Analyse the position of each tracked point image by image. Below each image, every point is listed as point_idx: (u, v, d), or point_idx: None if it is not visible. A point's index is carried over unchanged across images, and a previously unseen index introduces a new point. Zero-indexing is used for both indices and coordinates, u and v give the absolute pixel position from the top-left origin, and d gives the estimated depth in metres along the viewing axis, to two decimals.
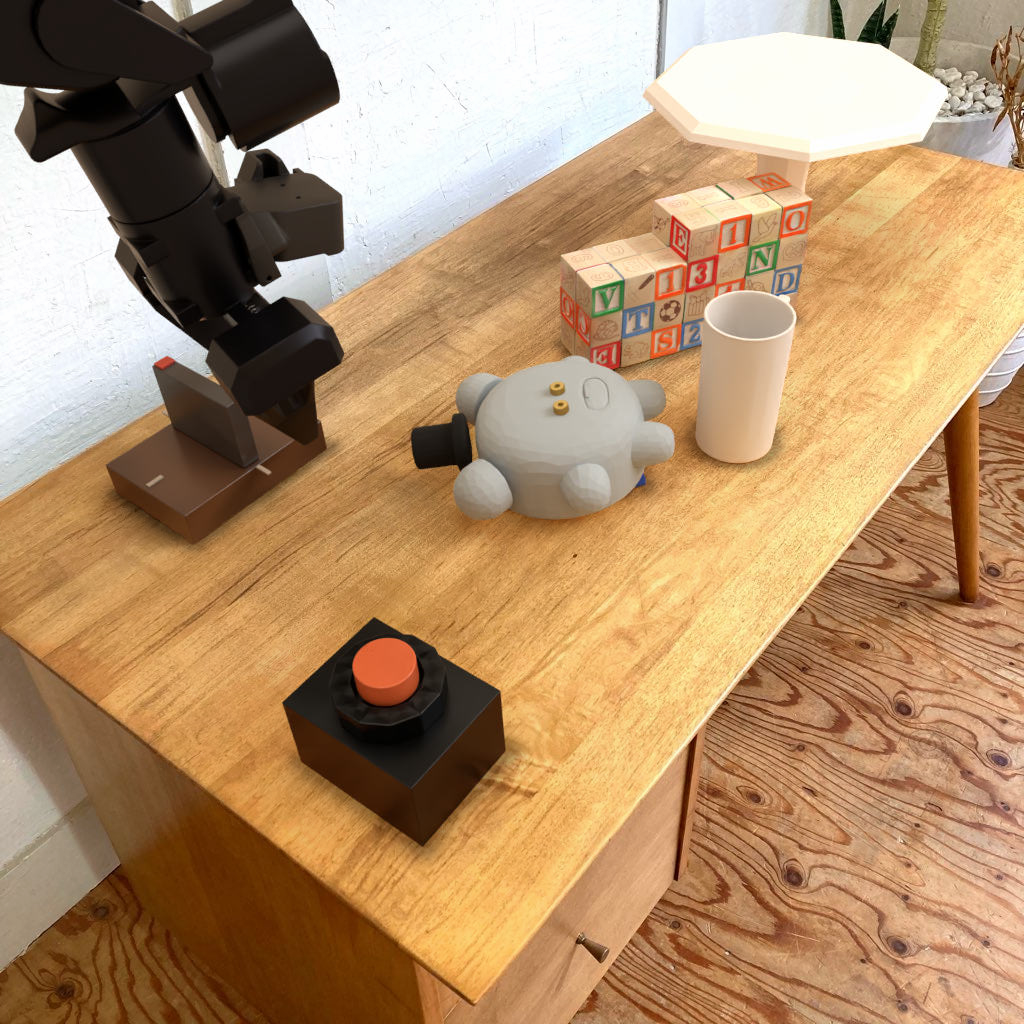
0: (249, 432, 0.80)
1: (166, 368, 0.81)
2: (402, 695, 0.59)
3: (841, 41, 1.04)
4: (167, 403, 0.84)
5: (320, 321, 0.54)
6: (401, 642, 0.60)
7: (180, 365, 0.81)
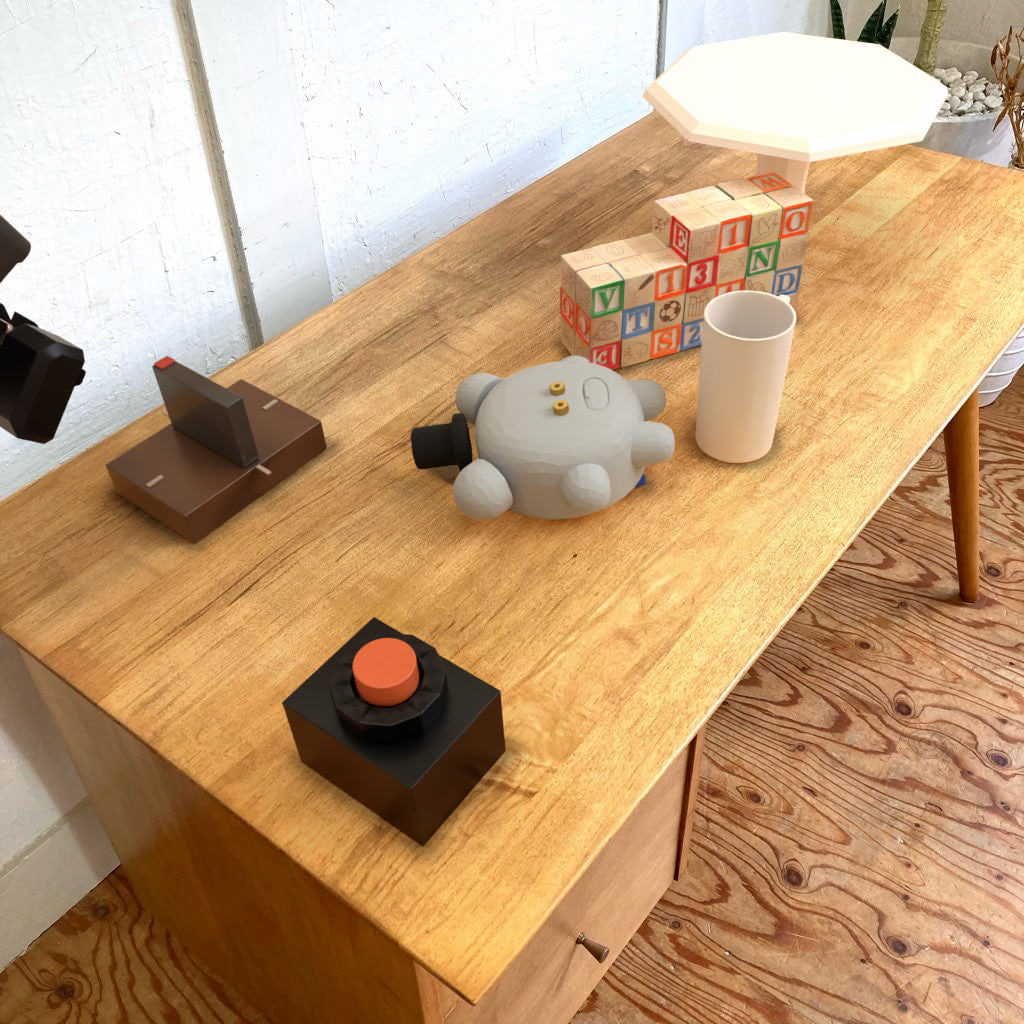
0: (249, 432, 0.80)
1: (166, 368, 0.81)
2: (402, 695, 0.59)
3: (841, 41, 1.04)
4: (167, 403, 0.84)
5: (44, 342, 0.61)
6: (401, 642, 0.60)
7: (180, 365, 0.81)
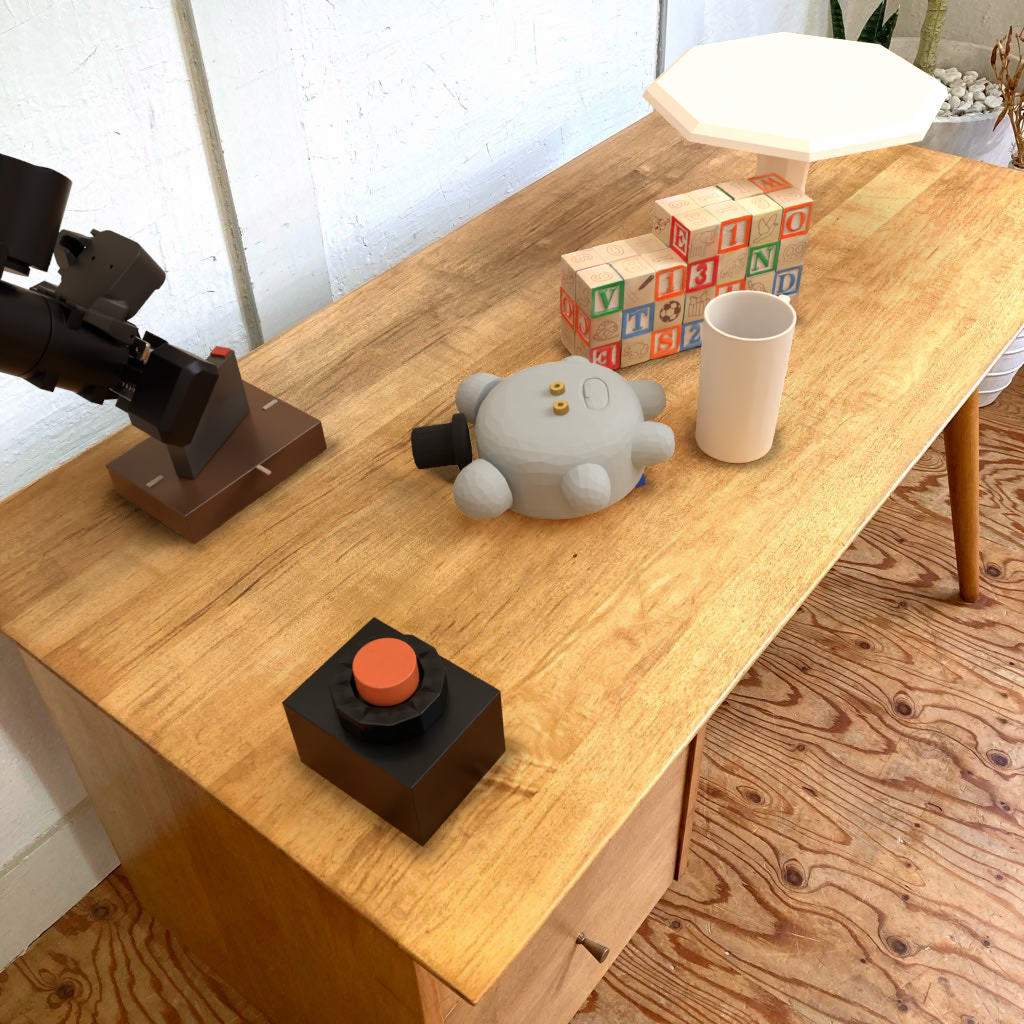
0: (182, 451, 0.79)
1: (213, 356, 0.82)
2: (402, 695, 0.59)
3: (841, 41, 1.04)
4: None
5: (187, 359, 0.70)
6: (401, 642, 0.60)
7: (219, 362, 0.82)
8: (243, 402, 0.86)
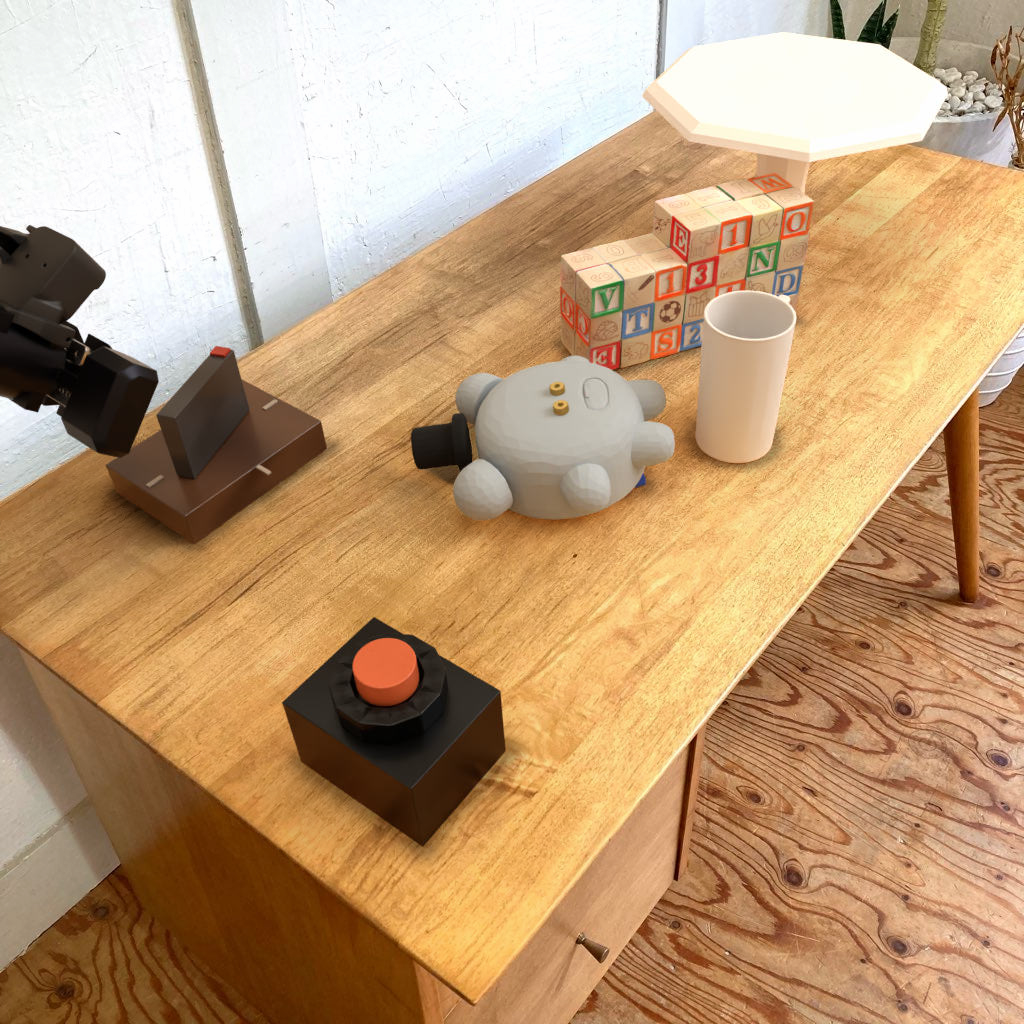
0: (182, 451, 0.79)
1: (212, 356, 0.82)
2: (402, 695, 0.59)
3: (841, 41, 1.04)
4: None
5: (123, 364, 0.66)
6: (401, 642, 0.60)
7: (219, 362, 0.82)
8: (242, 401, 0.86)
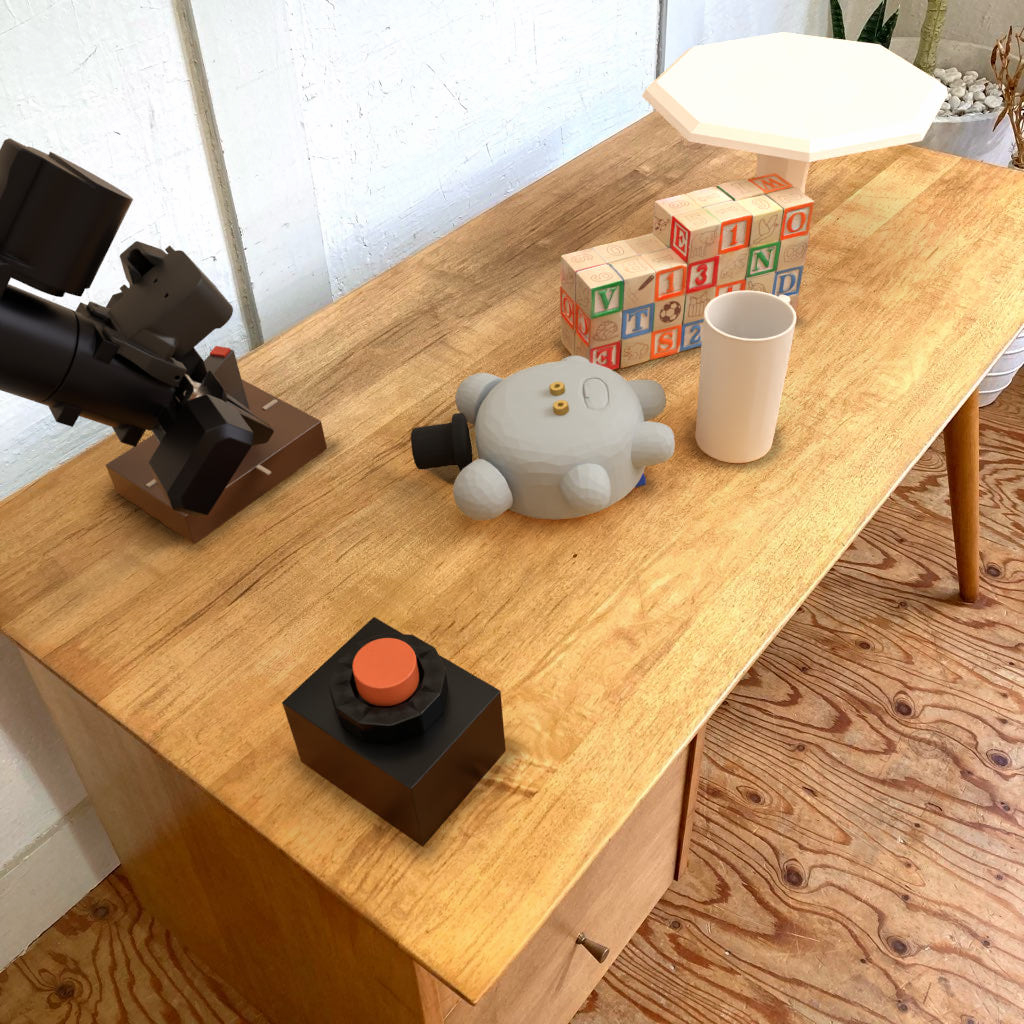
0: None
1: (212, 356, 0.82)
2: (402, 695, 0.59)
3: (841, 41, 1.04)
4: None
5: (215, 421, 0.59)
6: (401, 642, 0.60)
7: (219, 362, 0.82)
8: (242, 401, 0.86)
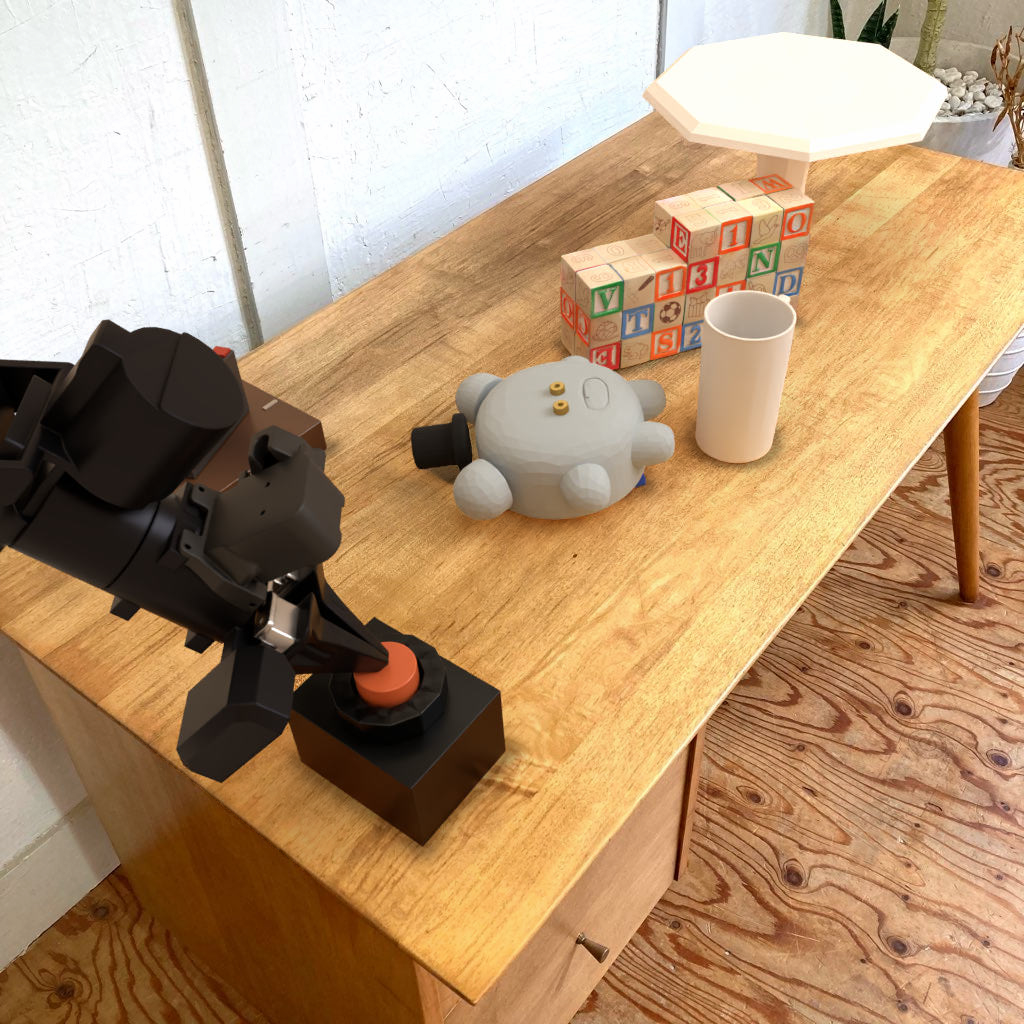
0: None
1: None
2: (403, 699, 0.59)
3: (841, 41, 1.04)
4: None
5: (246, 694, 0.47)
6: (402, 646, 0.60)
7: None
8: None
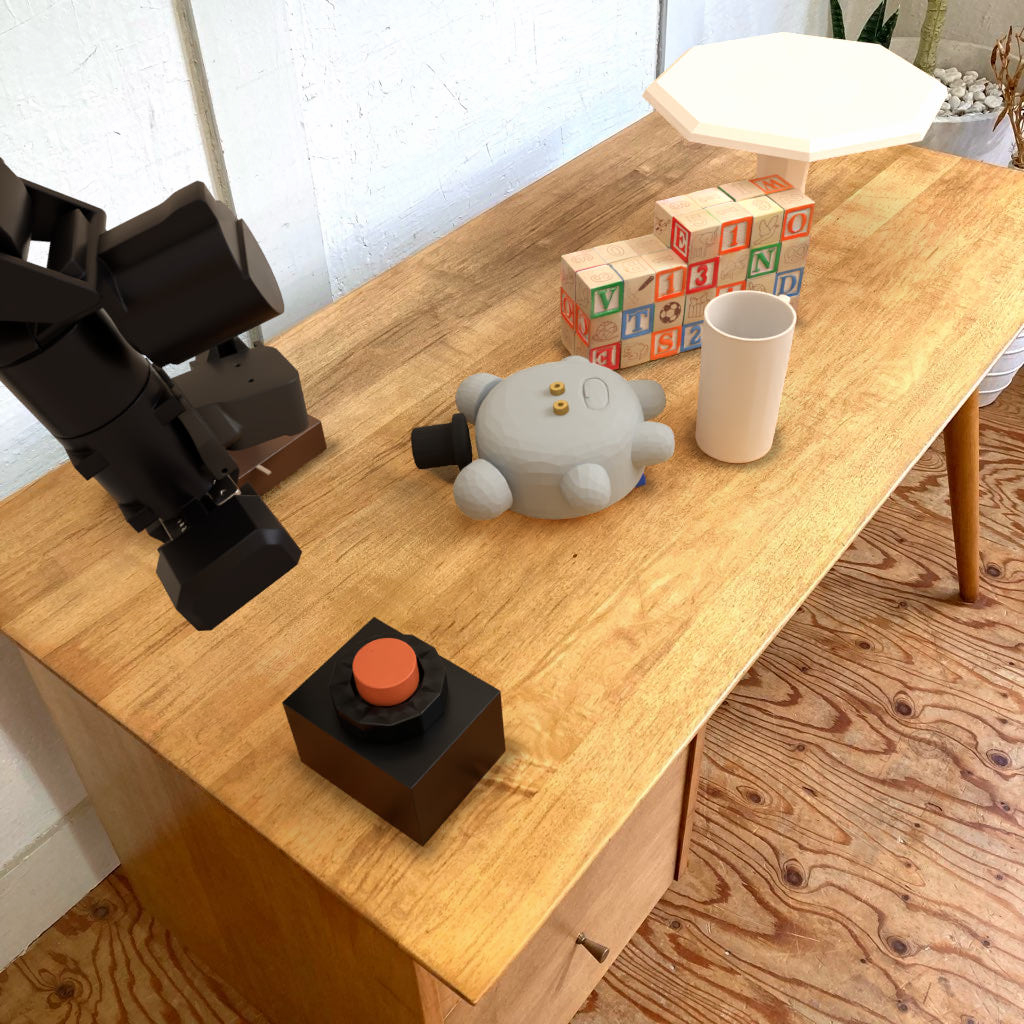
0: None
1: None
2: (402, 695, 0.59)
3: (841, 41, 1.04)
4: None
5: (270, 523, 0.50)
6: (401, 642, 0.60)
7: None
8: None
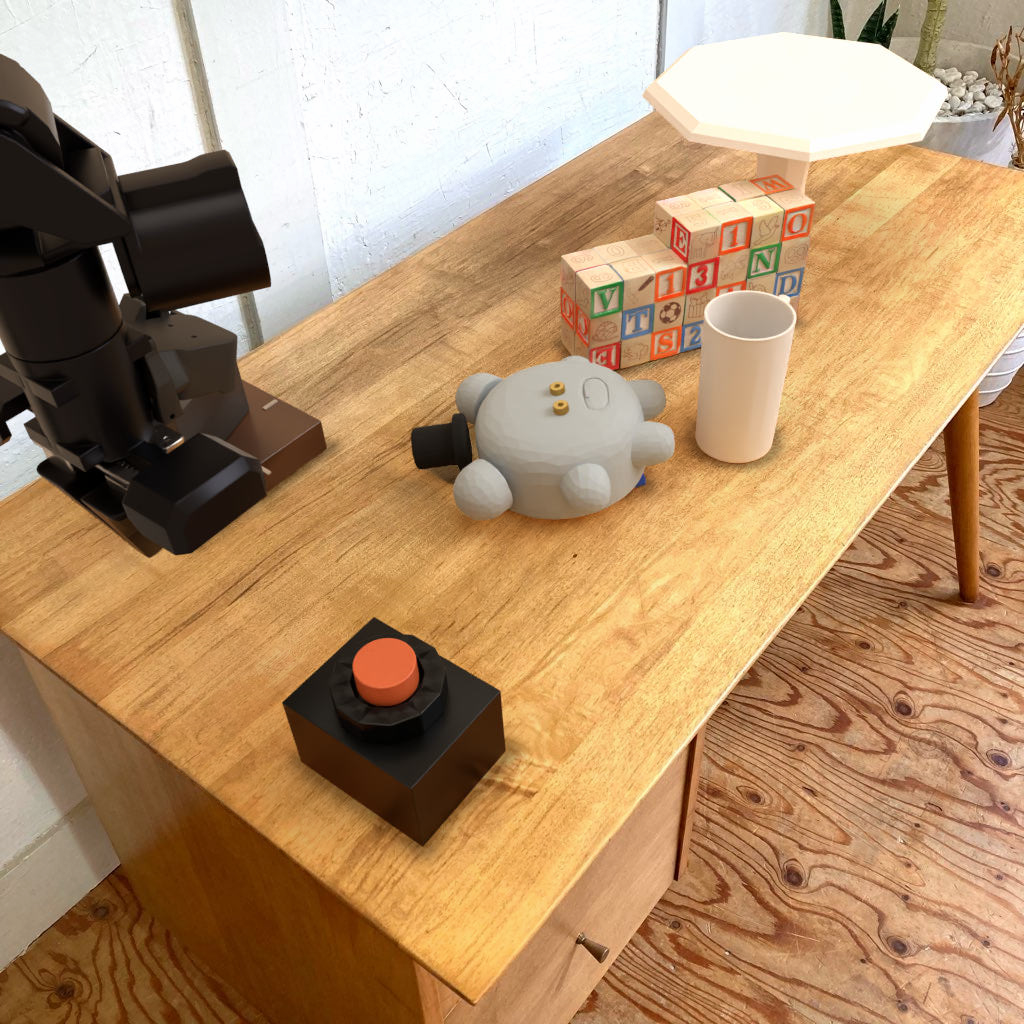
0: None
1: None
2: (402, 695, 0.59)
3: (841, 41, 1.04)
4: None
5: (246, 454, 0.54)
6: (401, 642, 0.60)
7: None
8: (242, 401, 0.86)
